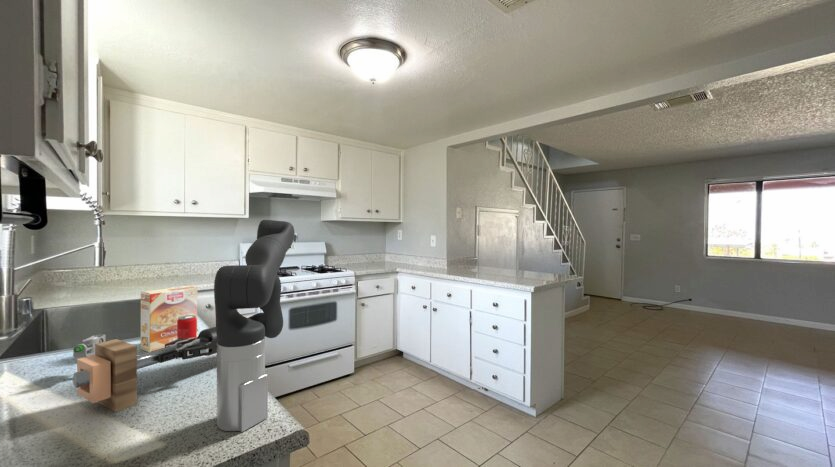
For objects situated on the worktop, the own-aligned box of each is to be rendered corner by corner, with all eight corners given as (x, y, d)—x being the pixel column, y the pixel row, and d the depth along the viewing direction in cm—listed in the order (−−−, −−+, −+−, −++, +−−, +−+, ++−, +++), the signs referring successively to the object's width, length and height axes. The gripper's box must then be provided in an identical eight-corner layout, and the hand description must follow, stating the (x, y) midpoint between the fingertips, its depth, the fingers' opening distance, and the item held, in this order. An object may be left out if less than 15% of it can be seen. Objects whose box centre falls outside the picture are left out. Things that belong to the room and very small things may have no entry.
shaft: (177, 354, 94) (177, 342, 94) (184, 357, 92) (184, 344, 92) (72, 386, 75) (72, 370, 75) (79, 389, 74) (79, 374, 74)
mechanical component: (70, 384, 90) (70, 346, 90) (95, 368, 100) (95, 334, 99) (84, 382, 91) (84, 345, 90) (107, 367, 100) (107, 333, 100)
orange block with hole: (110, 397, 77) (110, 361, 77) (93, 403, 74) (92, 366, 74) (94, 389, 80) (94, 354, 80) (77, 394, 78) (77, 359, 78)
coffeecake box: (149, 353, 112) (149, 293, 111) (139, 349, 115) (139, 291, 115) (198, 340, 125) (198, 286, 124) (187, 337, 128) (187, 285, 128)
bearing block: (136, 403, 80) (136, 345, 80) (115, 411, 77) (115, 351, 76) (116, 393, 85) (116, 339, 85) (95, 401, 81) (95, 343, 81)
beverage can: (173, 355, 111) (173, 317, 110) (190, 350, 115) (190, 314, 115) (183, 358, 108) (183, 320, 108) (200, 352, 113) (199, 316, 113)
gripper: (206, 322, 106) (140, 338, 91) (235, 329, 100) (169, 347, 84) (206, 347, 106) (140, 366, 91) (235, 355, 100) (169, 378, 84)
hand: (154, 357), depth 88 cm, fingers closed on shaft, 3 cm apart
